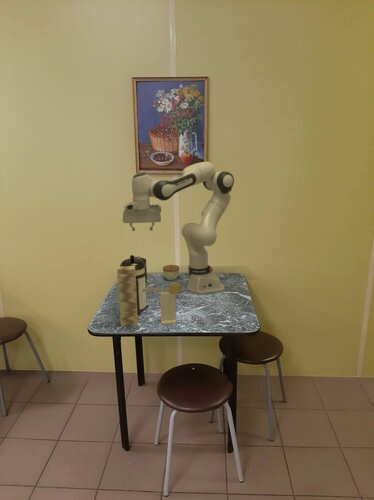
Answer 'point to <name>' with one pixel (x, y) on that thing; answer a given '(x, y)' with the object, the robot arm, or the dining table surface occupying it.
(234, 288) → the dining table surface
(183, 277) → the dining table surface
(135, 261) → the coffee press
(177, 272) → the lidded jar
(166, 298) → the cream rest post
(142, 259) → the supplement box
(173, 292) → the beige mallet
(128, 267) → the birch bearing block
